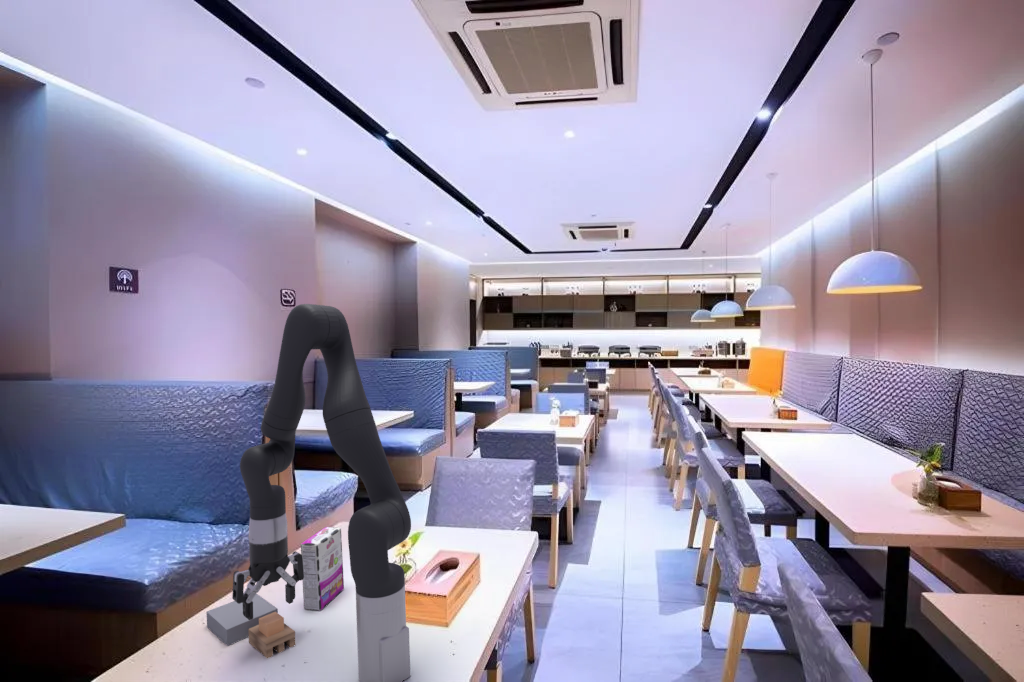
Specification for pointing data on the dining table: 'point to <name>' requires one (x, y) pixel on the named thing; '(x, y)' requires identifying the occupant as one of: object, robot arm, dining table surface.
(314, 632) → the dining table surface
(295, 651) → the dining table surface
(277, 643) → the pallet
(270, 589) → the dining table surface
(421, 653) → the dining table surface
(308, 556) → the candy bar box
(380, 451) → the robot arm
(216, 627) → the dock
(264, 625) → the block
